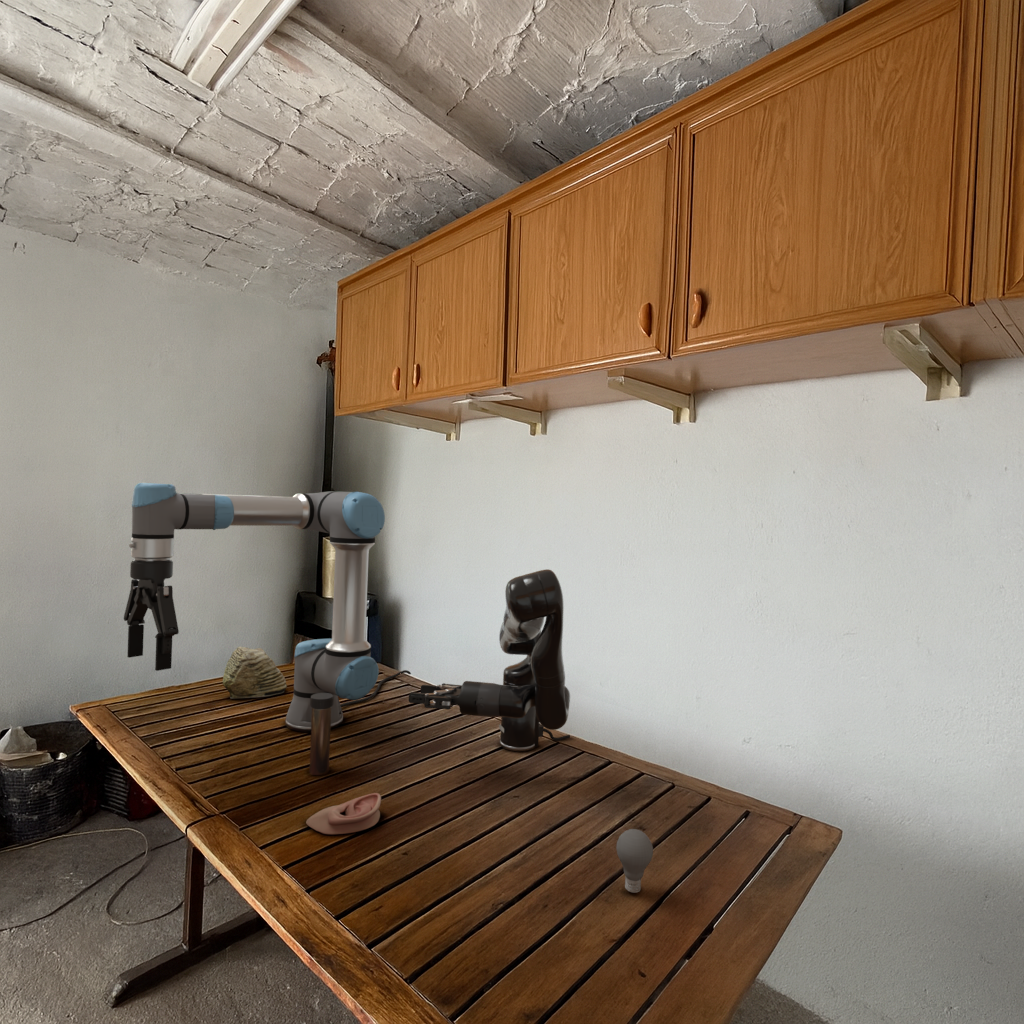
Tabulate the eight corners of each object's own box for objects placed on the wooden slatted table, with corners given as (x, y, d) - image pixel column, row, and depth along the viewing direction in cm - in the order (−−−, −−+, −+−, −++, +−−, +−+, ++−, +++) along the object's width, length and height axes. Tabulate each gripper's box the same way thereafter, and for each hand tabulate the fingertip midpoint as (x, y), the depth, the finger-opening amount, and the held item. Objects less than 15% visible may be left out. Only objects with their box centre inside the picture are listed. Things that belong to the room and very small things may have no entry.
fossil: (218, 695, 195) (220, 647, 195) (278, 685, 208) (279, 640, 207) (228, 703, 189) (230, 653, 188) (289, 692, 201) (290, 645, 201)
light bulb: (610, 879, 108) (613, 822, 108) (644, 879, 109) (647, 822, 109) (619, 902, 102) (622, 840, 102) (655, 901, 103) (658, 840, 103)
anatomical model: (298, 809, 120) (327, 783, 131) (297, 830, 120) (327, 802, 131) (363, 819, 117) (388, 791, 128) (362, 840, 117) (387, 811, 128)
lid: (324, 710, 143) (325, 700, 142) (305, 707, 144) (306, 697, 144) (337, 703, 147) (337, 694, 147) (318, 700, 149) (319, 691, 149)
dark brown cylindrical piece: (321, 776, 143) (324, 701, 143) (305, 773, 145) (308, 699, 144) (332, 769, 147) (335, 696, 147) (316, 766, 149) (319, 694, 148)
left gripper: (108, 554, 134) (104, 654, 134) (159, 565, 118) (155, 678, 119) (146, 552, 140) (143, 648, 140) (199, 563, 124) (195, 671, 124)
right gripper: (489, 676, 153) (425, 671, 156) (476, 689, 139) (405, 683, 142) (488, 708, 153) (423, 702, 155) (474, 723, 139) (404, 717, 141)
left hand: (148, 662), depth 129 cm, fingers open, 13 cm apart
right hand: (415, 693), depth 149 cm, fingers open, 8 cm apart
